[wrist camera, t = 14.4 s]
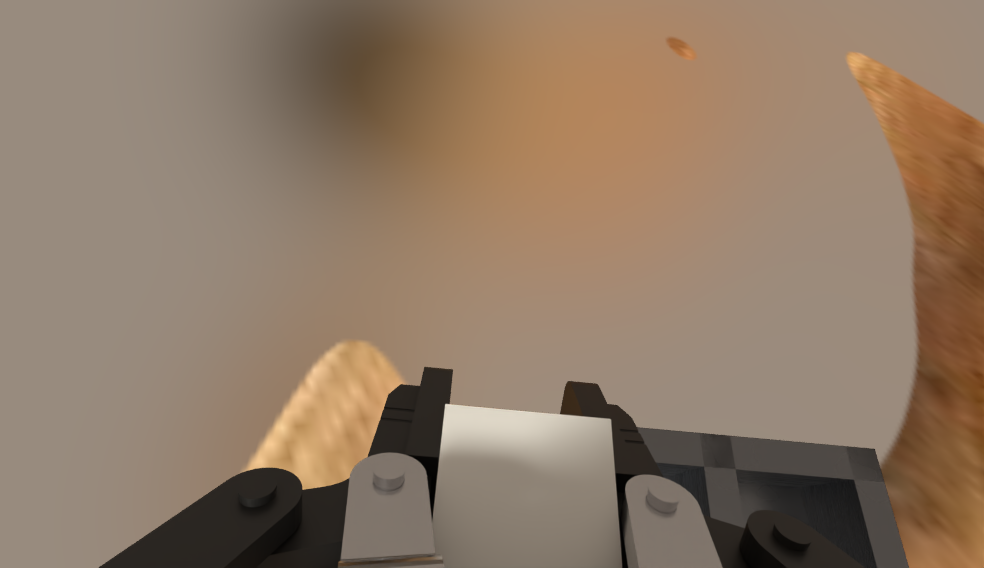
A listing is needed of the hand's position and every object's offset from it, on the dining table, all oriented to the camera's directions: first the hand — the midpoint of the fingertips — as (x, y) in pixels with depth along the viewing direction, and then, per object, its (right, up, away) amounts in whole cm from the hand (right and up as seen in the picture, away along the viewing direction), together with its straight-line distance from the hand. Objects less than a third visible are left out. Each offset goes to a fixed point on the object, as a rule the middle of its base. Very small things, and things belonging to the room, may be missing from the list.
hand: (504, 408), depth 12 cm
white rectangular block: (-1, -5, +2) cm, 6 cm away
